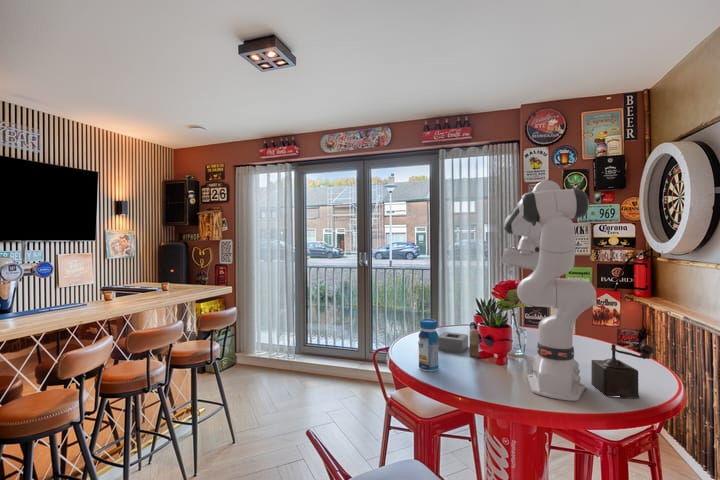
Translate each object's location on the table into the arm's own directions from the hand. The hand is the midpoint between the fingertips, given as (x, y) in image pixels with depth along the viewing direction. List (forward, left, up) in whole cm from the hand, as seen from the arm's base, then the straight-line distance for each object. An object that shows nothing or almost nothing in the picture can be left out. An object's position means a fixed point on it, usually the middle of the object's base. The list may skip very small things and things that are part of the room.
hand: (519, 276), depth 167 cm
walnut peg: (-17, +18, -36) cm, 44 cm away
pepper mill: (-30, -36, -36) cm, 59 cm away
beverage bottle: (-42, +31, -36) cm, 63 cm away
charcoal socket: (-9, +30, -36) cm, 48 cm away
